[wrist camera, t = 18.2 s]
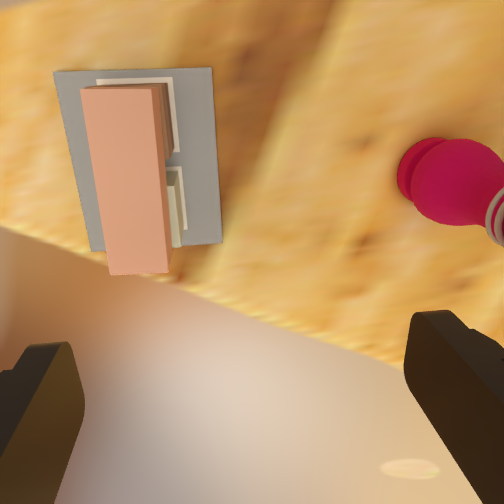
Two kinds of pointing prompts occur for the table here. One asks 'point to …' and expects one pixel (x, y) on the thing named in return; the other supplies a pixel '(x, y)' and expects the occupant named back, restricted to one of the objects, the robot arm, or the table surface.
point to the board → (182, 159)
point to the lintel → (129, 177)
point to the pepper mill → (455, 183)
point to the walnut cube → (164, 108)
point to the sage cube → (175, 208)
